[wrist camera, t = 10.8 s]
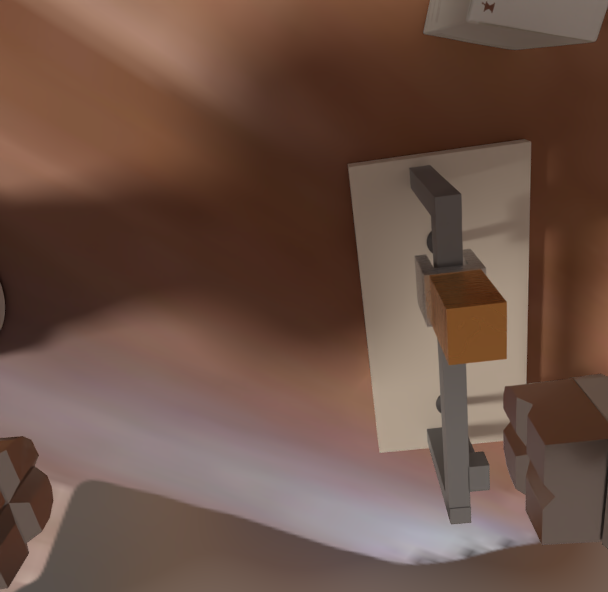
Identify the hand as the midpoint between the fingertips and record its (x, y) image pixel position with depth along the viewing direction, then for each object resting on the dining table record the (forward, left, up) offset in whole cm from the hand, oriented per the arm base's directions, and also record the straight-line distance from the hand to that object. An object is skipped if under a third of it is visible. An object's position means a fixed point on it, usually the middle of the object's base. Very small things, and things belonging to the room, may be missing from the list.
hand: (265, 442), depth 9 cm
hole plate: (+10, -16, -37) cm, 42 cm away
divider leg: (+9, -9, -35) cm, 37 cm away
